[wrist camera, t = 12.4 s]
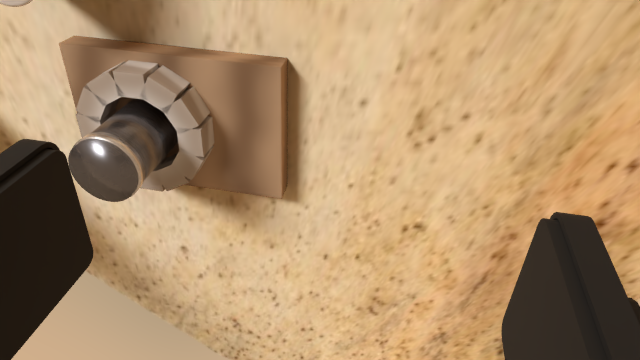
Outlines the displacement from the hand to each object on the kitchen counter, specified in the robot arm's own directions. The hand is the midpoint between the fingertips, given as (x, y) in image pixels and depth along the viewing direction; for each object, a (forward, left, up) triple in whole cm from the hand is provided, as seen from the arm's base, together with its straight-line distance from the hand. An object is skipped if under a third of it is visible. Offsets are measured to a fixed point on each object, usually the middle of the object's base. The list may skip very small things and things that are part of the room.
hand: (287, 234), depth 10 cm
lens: (+18, +13, -26) cm, 34 cm away
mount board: (+16, +13, -28) cm, 35 cm away
